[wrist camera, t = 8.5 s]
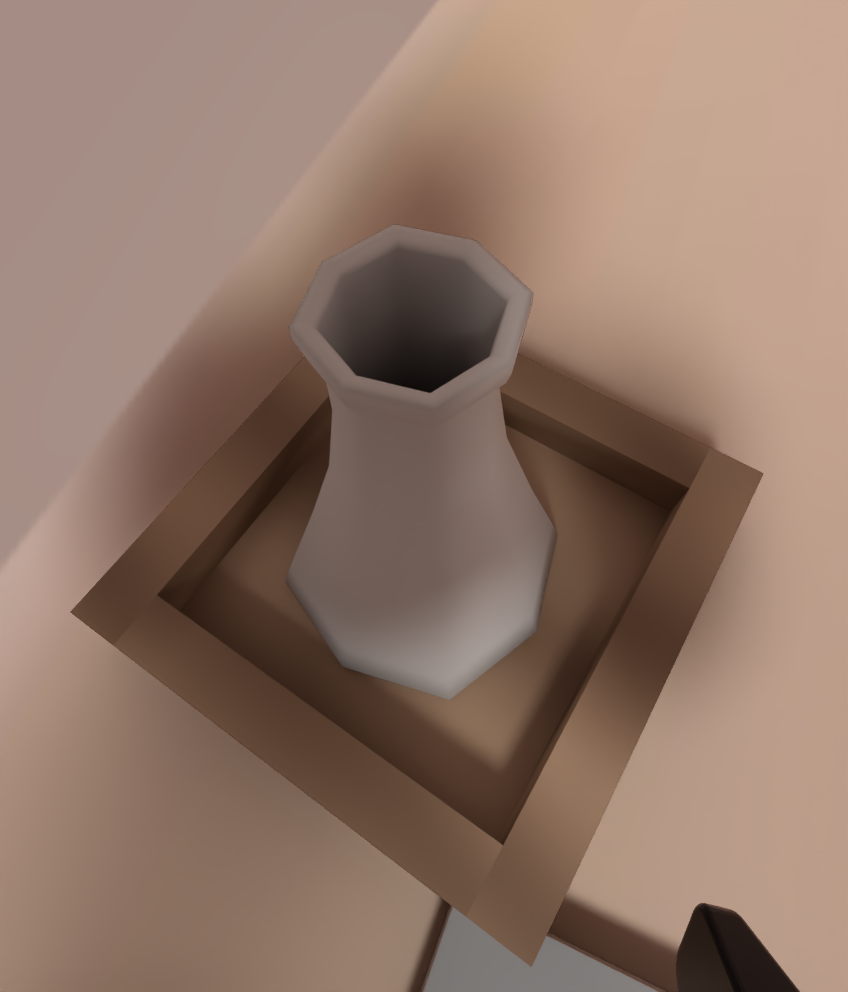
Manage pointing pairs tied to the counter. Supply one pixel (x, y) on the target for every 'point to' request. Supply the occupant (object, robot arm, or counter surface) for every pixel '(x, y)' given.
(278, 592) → the tray
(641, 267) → the counter surface
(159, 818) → the counter surface
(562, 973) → the slate coaster
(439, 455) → the flask
